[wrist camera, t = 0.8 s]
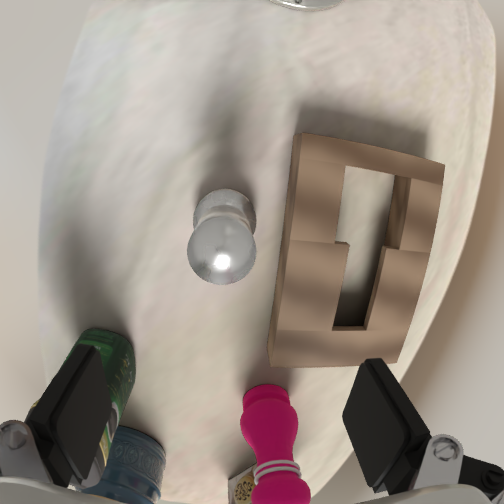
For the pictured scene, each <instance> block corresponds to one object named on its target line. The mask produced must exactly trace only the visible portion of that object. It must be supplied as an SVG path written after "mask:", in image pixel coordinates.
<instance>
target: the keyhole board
mask: <svg viewBox="0 0 504 504" xmlns="http://www.w3.org/2000/svg"><path fill="white" fill-rule="evenodd" d="M345 165H347V166H352V167H358V168H363V169H369V170H374V171H379V172H384V173H389V174H393V175H395V180H394V188H393V195H392V201H391V208H390V214H389V220H388V225H387V231H386V236H385V242H384V246H382V250H381V255H380V260H379V264H378V269H377V273H376V278H375V282H374V286H373V290H372V294H371V298H370V302H369V306H368V310H367V314H366V317H365V321H364V325H363V326H333V322H334V318H335V314H336V310H337V305H338V301H339V296H340V292H341V287H342V282H343V277H344V272H345V267H346V262H347V257H348V251H349V246H350V245H349V244H348V243H346V242H339V241H335V236H336V230H337V224H338V217H339V210H340V203H341V196H342V189H343V181H344V173H345ZM444 171H445V165H444V164H441V163H438V162H434V161H431V160H427V159H424V158H420V157H417V156H413V155H409V154H405V153H402V152H398V151H394V150H389V149H385V148H381V147H377V146H372V145H368V144H363V143H358V142H353V141H348V140H343V139H338V138H332V137H327V136H321V135H315V134H309V133H300V134H297V135H295V136H294V137H293V146H292V156H291V165H290V174H289V183H288V192H287V200H286V208H285V217H284V225H283V233H282V241H281V249H280V256H279V264H278V272H277V279H276V286H275V294H274V301H273V308H272V315H271V322H270V329H269V335H268V342H267V351H268V357H269V362H270V367H276V368H313V367H345V366H360V364H361V363H364V361H365V360H366V359H369V358H382V359H383V360H384V362H385V363H386V364H390V363H397V360H398V358H399V355H400V352H401V350H402V347H403V344H404V341H405V339H406V336H407V333H408V330H409V327H410V324H411V321H412V318H413V315H414V311H415V308H416V305H417V302H418V298H419V295H420V291H421V288H422V284H423V280H424V277H425V273H426V269H427V265H428V261H429V256H430V252H431V248H432V243H433V238H434V233H435V228H436V223H437V218H438V212H439V206H440V200H441V193H442V186H443V179H444Z"/></svg>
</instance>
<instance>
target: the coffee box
mask: <svg viewBox="0 0 504 504" xmlns="http://www.w3.org/2000/svg"><path fill="white" fill-rule="evenodd" d="M256 468H257V463H256V464H255V465H253V466H251V467H250V468H248V469H247V470H245V471H244V472H242V473H240V474H239V475H237V476H235V477H234V478H232V479H230V480H229V481H228V499H229V504H252V501H251V493H252V490H253V489H254V487H255V486H256V484H255V482H254V479H255V477H254V471H255V469H256Z"/></svg>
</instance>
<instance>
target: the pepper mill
mask: <svg viewBox="0 0 504 504" xmlns="http://www.w3.org/2000/svg"><path fill="white" fill-rule="evenodd" d="M243 411H244V412H243V414H242V416H241V419H240V425H241V431H242V434H243V436H244V438H245V440H246V441H247V442H248V444H249V445H250V446H251V447H252V449H253V450H254V452H255V455H256V459H257V468H256V469H255V471H254V477H255V479H254V482H255V484H256V486H255V487H254V489H253V490H252V493H251V501H252V504H309V503H310V498H311V494H310V489H309V486H308V485H307V483H306V482H305V481H303V480H302V479H300V478H301V472H300V467H299V465H298V464H297V463H295V462H294V460H293V454H292V449H293V444H294V441H295V438H296V434H297V430H298V418H297V413H296V411H295V410H294V408H293V407H292V406H290V400H289V396H288V394H287V392H286V391H285V390H284V389H283V388H281V387H279V386H276V385H271V384H265V385H260V386H256V387H254V388H252V389H250V390H249V391H248V392H247V393H246V394H245V396H244V398H243Z"/></svg>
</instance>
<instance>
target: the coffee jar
mask: <svg viewBox="0 0 504 504" xmlns="http://www.w3.org/2000/svg"><path fill="white" fill-rule="evenodd" d="M79 343H82V344H88V345H93V346H95V348H96V350H98V351H99V352H100V355H101V360H102V364H103V369H104V373H105V378H106V382H107V386H108V390H109V394H110V398H111V401H112V411H111V414H110V417H109V419H108V422H107V425H106V427H105V430H104V433H103V435H102V438H101V441H100V444H99V446H98V449H97V452H96V455H95V458H94V461H93V464H92V467H91V470H90V472H89V475H88V478H87V479H86V480H84V479H83V481H82V484H81V486H80V485H76V484H73V483H69V484H70V485H72V486H75V487H78V488H81V489H85V488H88V487H92V486H95V485H96V484H98V482H99V481H100V479H101V477H102V474H103V472H104V470H105V466H106V463H107V459H108V455H109V450H110V447H111V443H112V440H113V437H114V434H115V431H116V429H117V426H118V423H119V421H120V418H121V415H122V413H123V410H124V408H125V405H126V403H127V400H128V398H129V396H130V393H131V391H132V388H133V385H134V382H135V374H136V369H135V357H134V352H133V348H132V346H131V344H130V343H129V342H128V341H127V340H126V339H125V338H124V337H122V336H121V335H118V334H116V333H114V332H111V331H107V330H102V329H88V330H86V331H84V332H83V333H82V334H81V336H80V337H79V339H78V340H77V342H76V343H75V345H74V346H73V348H72V350H71V351H70V353H69V355H68V356H67V358H66V360H65V361H64V363H63V365H64V364H65V362H66V361H67V359H68V358H69V356H70V355H71V353H72V352H73V351H74V349H75V348H76V346H77V345H78V344H79ZM63 365H62V366H61V368H62V367H63ZM61 368H60V370H61ZM60 370H59V371H60ZM59 371H58V373H59ZM58 373H57V374H58ZM57 374H56V375H57ZM39 400H40V399H39ZM39 400H38V401H39ZM38 401H36V402H35V403H34V404H33V406H32V407H31V409H30V411H29V413H28V415H27V417H26V419H25V421H24V423H26V421H27V419H28V418H29V416H30V414H31V413H32V411H33V409H34V408H35V406H36V405H37V403H38Z"/></svg>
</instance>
